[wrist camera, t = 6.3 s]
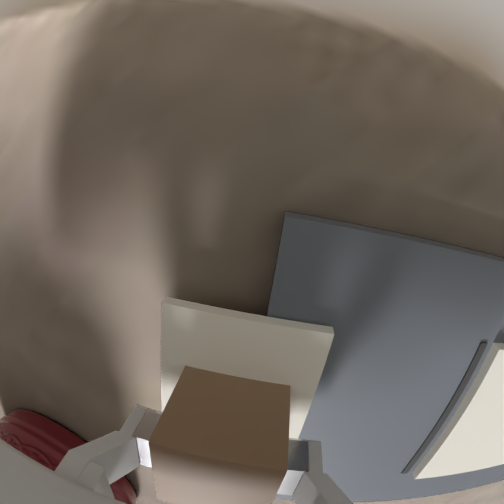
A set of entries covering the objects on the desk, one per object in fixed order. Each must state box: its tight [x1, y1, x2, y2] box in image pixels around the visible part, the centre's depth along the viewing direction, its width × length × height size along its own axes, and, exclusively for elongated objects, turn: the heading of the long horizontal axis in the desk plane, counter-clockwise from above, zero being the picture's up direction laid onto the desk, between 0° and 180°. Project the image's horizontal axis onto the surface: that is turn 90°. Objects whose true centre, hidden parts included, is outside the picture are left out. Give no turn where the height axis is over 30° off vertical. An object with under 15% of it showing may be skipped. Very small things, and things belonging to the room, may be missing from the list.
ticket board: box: [267, 211, 504, 502], centre depth 12 cm, size 22×16×2 cm
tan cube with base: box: [149, 297, 334, 504], centre depth 10 cm, size 6×9×4 cm, turn 172°
